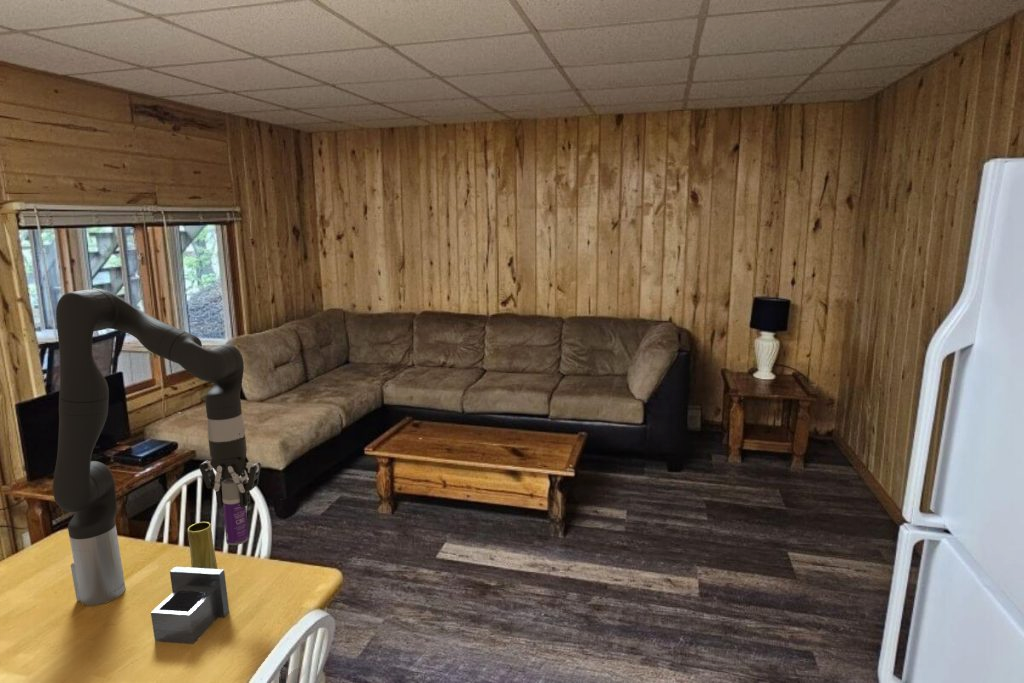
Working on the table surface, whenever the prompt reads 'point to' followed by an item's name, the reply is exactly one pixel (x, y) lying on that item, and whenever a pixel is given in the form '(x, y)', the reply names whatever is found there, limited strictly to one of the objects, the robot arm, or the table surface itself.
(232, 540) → the container
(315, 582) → the table surface
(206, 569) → the cup bracket
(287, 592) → the table surface
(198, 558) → the vase
